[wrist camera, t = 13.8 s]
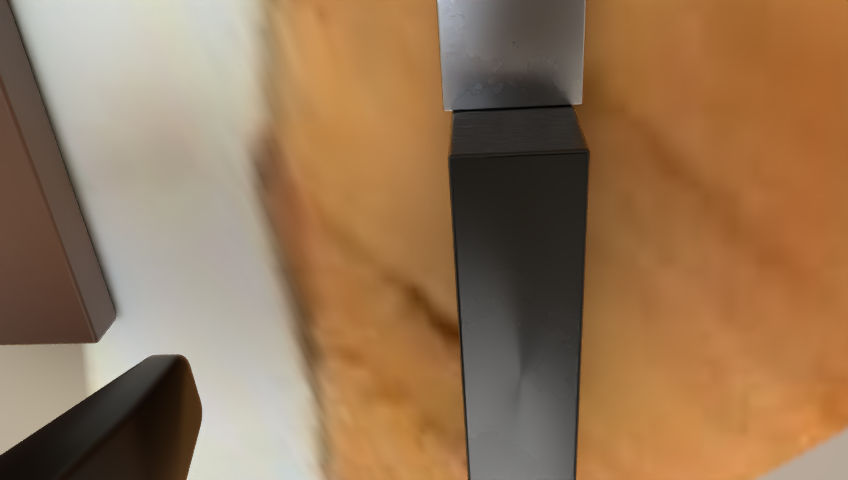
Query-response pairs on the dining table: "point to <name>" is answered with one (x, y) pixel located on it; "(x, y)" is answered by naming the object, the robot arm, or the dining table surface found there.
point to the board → (40, 221)
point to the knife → (517, 228)
